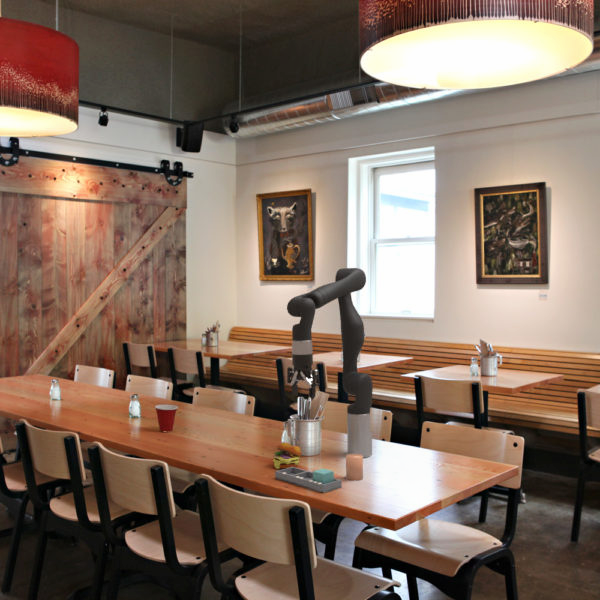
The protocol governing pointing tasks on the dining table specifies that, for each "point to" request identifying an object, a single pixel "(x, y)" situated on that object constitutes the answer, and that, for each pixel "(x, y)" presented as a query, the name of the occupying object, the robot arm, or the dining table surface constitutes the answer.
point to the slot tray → (306, 479)
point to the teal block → (323, 476)
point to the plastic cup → (166, 416)
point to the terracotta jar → (354, 466)
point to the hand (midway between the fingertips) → (303, 396)
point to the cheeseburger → (287, 456)
